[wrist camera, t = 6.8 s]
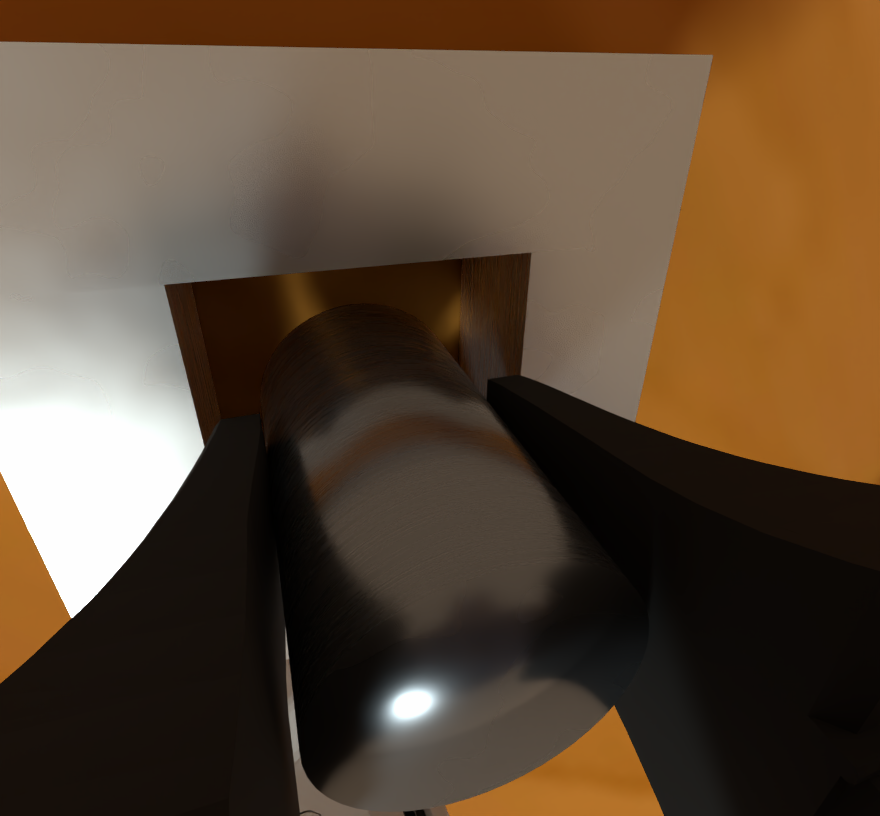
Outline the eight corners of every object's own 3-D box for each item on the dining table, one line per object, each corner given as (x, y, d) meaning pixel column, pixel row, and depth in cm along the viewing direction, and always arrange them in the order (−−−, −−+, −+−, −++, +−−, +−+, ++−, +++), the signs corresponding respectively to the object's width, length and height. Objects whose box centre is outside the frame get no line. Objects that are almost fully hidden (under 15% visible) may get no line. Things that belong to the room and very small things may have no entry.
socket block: (597, 59, 12) (713, 55, 9) (542, 496, 18) (602, 574, 15) (-70, 48, 9) (-209, 37, 6) (135, 585, 15) (114, 706, 12)
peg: (453, 452, 13) (623, 739, 8) (280, 490, 12) (329, 853, 7) (448, 289, 11) (679, 518, 6) (240, 320, 10) (261, 638, 5)
